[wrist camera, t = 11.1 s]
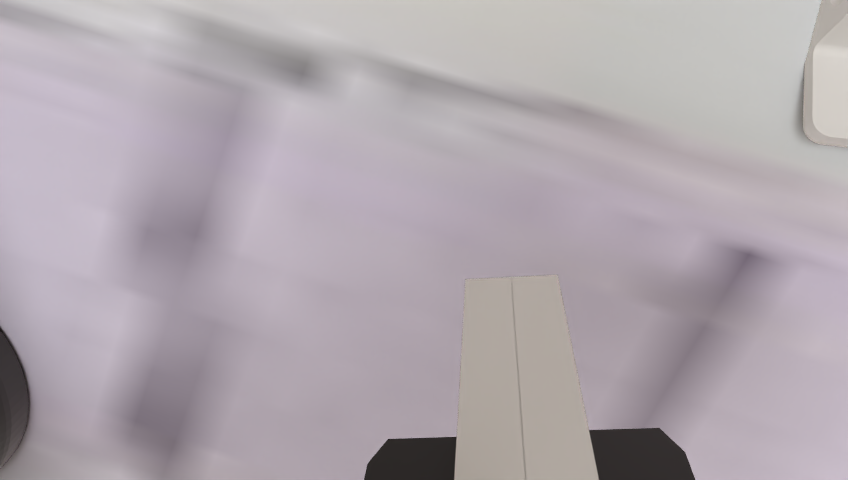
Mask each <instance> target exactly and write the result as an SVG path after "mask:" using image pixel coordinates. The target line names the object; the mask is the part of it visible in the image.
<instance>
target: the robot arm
mask: <svg viewBox="0 0 848 480" xmlns="http://www.w3.org/2000/svg"><path fill="white" fill-rule="evenodd" d="M27 418H28V393H27V387H26V382H25V378H24V375H23V372H22V369H21V366H20V364H19V361H18V359H17V357H16V355H15V353H14V351H13V349H12V348H11V346H10V344H9V343H8V341H7V339H6V338H5V336H4V335H3V334H2V332H1V331H0V468H1V467H2V466H3V465H4V464H5V463H6V462H7V460H8V459H9V458H10V457H11V456H12V454H13V453H14V452H15V450H16V449H17V447H18V445H19V443H20V441H21V439H22V437H23V434H24V431H25V428H26V424H27ZM364 480H695V478H694V475H693V472H692V470H691V467H690V464H689V462H688V459H687V456H686V454H685V452H684V451H683V450H682V449H681V448H680V447H679V446H678V445H677V444H676V443H675V442H674V441H672V440H671V439H670V438H669V437H668V436H667V435H666V434H665V433H664V432H663V431H662V430H661V429H660V428H646V429H613V430H589V428H588V423H587V418H586V413H585V408H584V403H583V398H582V393H581V388H580V383H579V379H578V374H577V369H576V364H575V359H574V354H573V349H572V344H571V339H570V334H569V329H568V324H567V319H566V314H565V309H564V304H563V299H562V294H561V289H560V284H559V280H558V275H542V276H521V277H501V278H481V279H465V296H464V313H463V331H462V349H461V367H460V385H459V403H458V421H457V437H441V438H408V439H388V440H387V441H386V442H385V444H384V445H383V446H382V447H381V448H380V450H379V451H378V452H377V453H376V454H375V456H374V457H373V458H372V459H371V460H370V462H369V463H368V464H367V469H366V474H365V478H364Z"/></svg>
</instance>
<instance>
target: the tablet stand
mask: <svg viewBox="0 0 848 480" xmlns="http://www.w3.org/2000/svg"><path fill="white" fill-rule="evenodd" d="M803 130H804V132H805V134H806V136H807V137H808V138H809V139H810V140H811V141H813V142H814V143H817V144H821V145H830V146H839V147H848V0H822V1H821V4H820V8H819V12H818V16H817V19H816V23H815V27H814V31H813V34H812V38H811V42H810V46H809V49H808V53H807V57H806V61H805V66H804V103H803Z"/></svg>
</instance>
